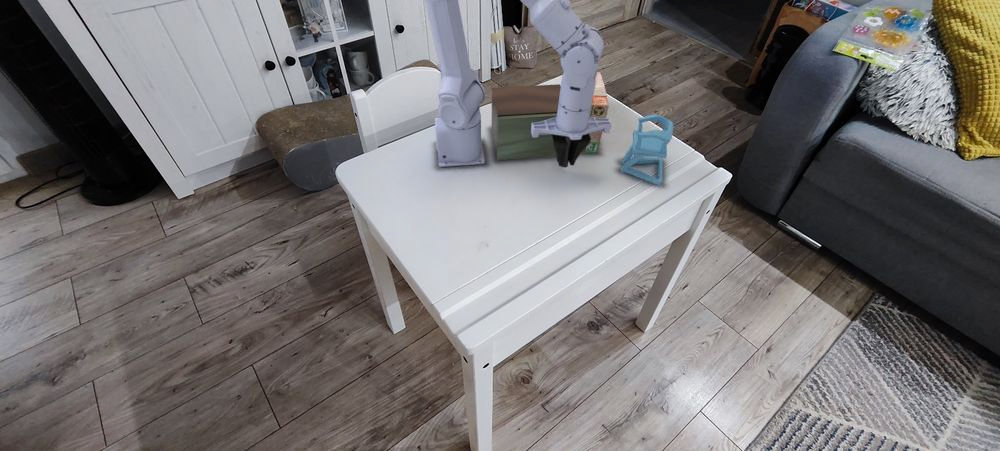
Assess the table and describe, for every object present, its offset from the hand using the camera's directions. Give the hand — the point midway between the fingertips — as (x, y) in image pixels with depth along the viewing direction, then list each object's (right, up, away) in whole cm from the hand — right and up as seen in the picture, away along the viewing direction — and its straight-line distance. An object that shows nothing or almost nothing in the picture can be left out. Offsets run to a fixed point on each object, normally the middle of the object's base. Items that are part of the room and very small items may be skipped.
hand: (565, 162), depth 90 cm
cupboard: (-7, +6, +11) cm, 14 cm away
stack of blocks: (+5, +11, +16) cm, 20 cm away
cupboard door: (-6, 0, +5) cm, 7 cm away
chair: (+16, -1, +5) cm, 17 cm away
